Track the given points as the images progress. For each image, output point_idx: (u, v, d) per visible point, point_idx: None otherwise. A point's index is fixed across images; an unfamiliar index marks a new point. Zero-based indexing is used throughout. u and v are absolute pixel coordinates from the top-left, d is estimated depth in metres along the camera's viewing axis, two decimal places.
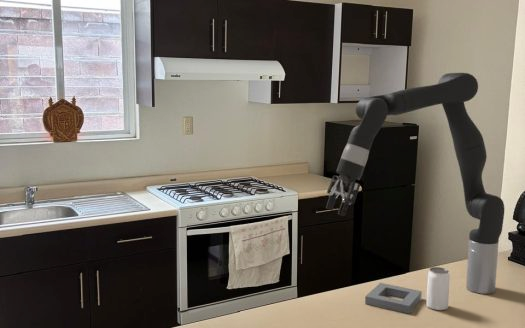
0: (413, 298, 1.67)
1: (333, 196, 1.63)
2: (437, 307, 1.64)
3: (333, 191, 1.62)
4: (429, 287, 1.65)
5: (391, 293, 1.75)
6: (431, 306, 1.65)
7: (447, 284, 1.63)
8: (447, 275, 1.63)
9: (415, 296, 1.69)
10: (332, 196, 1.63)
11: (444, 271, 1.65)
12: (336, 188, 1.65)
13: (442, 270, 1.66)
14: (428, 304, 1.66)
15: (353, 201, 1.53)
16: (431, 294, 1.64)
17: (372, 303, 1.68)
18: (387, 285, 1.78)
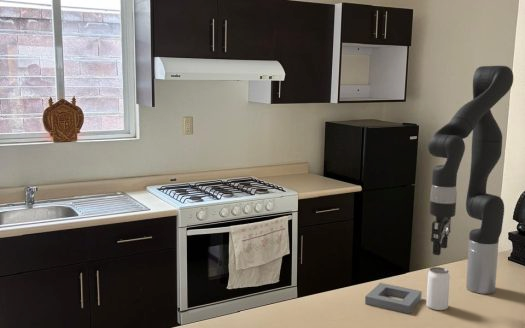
0: (413, 298, 1.67)
1: None
2: (437, 307, 1.64)
3: None
4: (429, 287, 1.65)
5: (391, 293, 1.75)
6: (431, 306, 1.65)
7: (447, 284, 1.63)
8: (447, 275, 1.63)
9: (415, 296, 1.69)
10: None
11: (444, 271, 1.65)
12: (448, 226, 1.68)
13: (442, 270, 1.66)
14: (428, 304, 1.66)
15: (437, 240, 1.57)
16: (431, 294, 1.64)
17: (372, 303, 1.68)
18: (387, 285, 1.78)
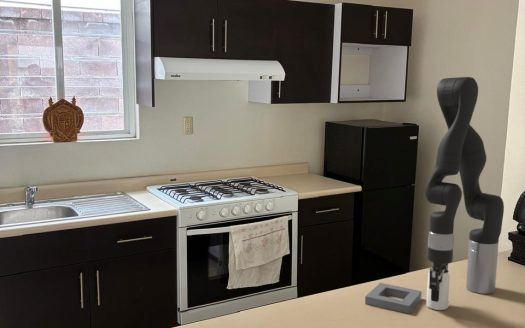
0: (413, 298, 1.67)
1: None
2: (437, 307, 1.64)
3: None
4: None
5: (391, 293, 1.75)
6: (431, 306, 1.65)
7: (447, 284, 1.63)
8: (447, 275, 1.63)
9: (415, 296, 1.69)
10: None
11: None
12: None
13: None
14: (428, 304, 1.66)
15: (435, 288, 1.60)
16: None
17: (372, 303, 1.68)
18: (387, 285, 1.78)
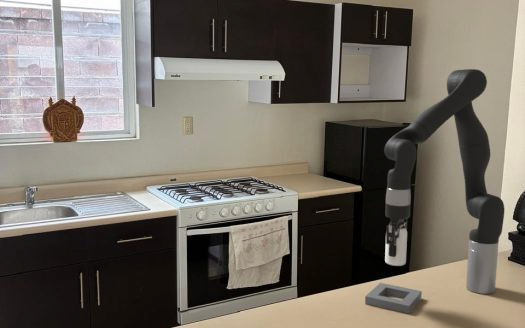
0: (413, 298, 1.67)
1: None
2: (394, 263, 1.66)
3: None
4: None
5: (391, 293, 1.75)
6: (389, 262, 1.67)
7: (404, 240, 1.66)
8: (404, 231, 1.66)
9: (415, 296, 1.69)
10: None
11: (402, 227, 1.67)
12: None
13: None
14: (386, 260, 1.68)
15: (392, 243, 1.62)
16: None
17: (372, 303, 1.68)
18: (387, 285, 1.78)
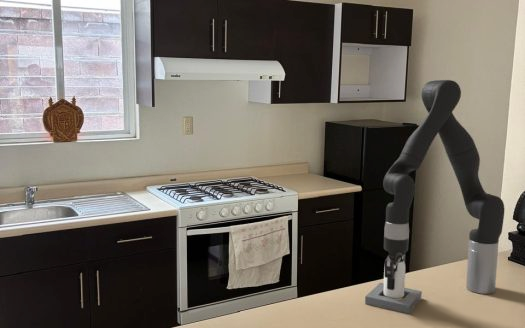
0: (413, 298, 1.67)
1: None
2: (393, 296, 1.68)
3: None
4: None
5: None
6: (387, 294, 1.69)
7: (402, 273, 1.67)
8: (402, 264, 1.67)
9: (415, 296, 1.69)
10: None
11: None
12: None
13: None
14: (384, 293, 1.70)
15: (390, 277, 1.64)
16: None
17: (372, 303, 1.68)
18: None
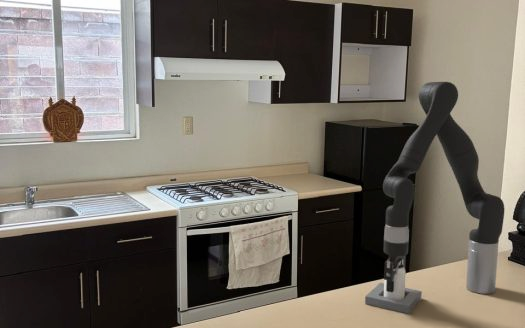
0: (413, 298, 1.67)
1: None
2: None
3: None
4: (385, 282, 1.69)
5: None
6: None
7: (403, 279, 1.67)
8: (403, 270, 1.67)
9: (415, 296, 1.69)
10: None
11: (400, 266, 1.69)
12: (403, 262, 1.74)
13: None
14: None
15: (390, 279, 1.63)
16: None
17: (372, 303, 1.68)
18: None
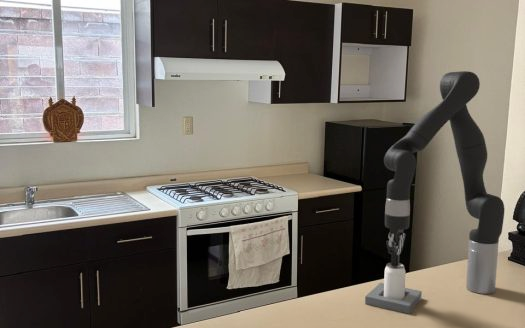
0: (413, 298, 1.67)
1: None
2: None
3: None
4: (385, 282, 1.69)
5: None
6: None
7: (403, 279, 1.67)
8: (403, 270, 1.67)
9: (415, 296, 1.69)
10: None
11: (400, 266, 1.69)
12: None
13: (399, 265, 1.71)
14: None
15: (394, 254, 1.66)
16: (387, 289, 1.69)
17: (372, 303, 1.68)
18: None
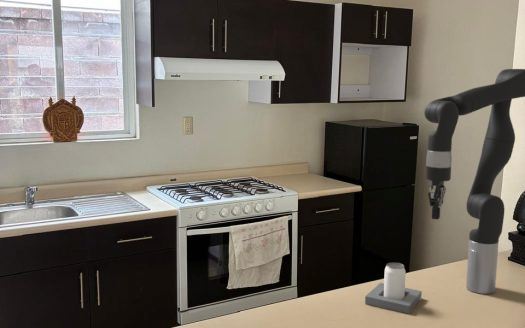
0: (413, 298, 1.67)
1: None
2: None
3: None
4: (385, 282, 1.69)
5: None
6: None
7: (403, 279, 1.67)
8: (403, 270, 1.67)
9: (415, 296, 1.69)
10: None
11: (400, 266, 1.69)
12: None
13: (399, 265, 1.71)
14: None
15: (436, 206, 1.65)
16: (387, 289, 1.69)
17: (372, 303, 1.68)
18: None
